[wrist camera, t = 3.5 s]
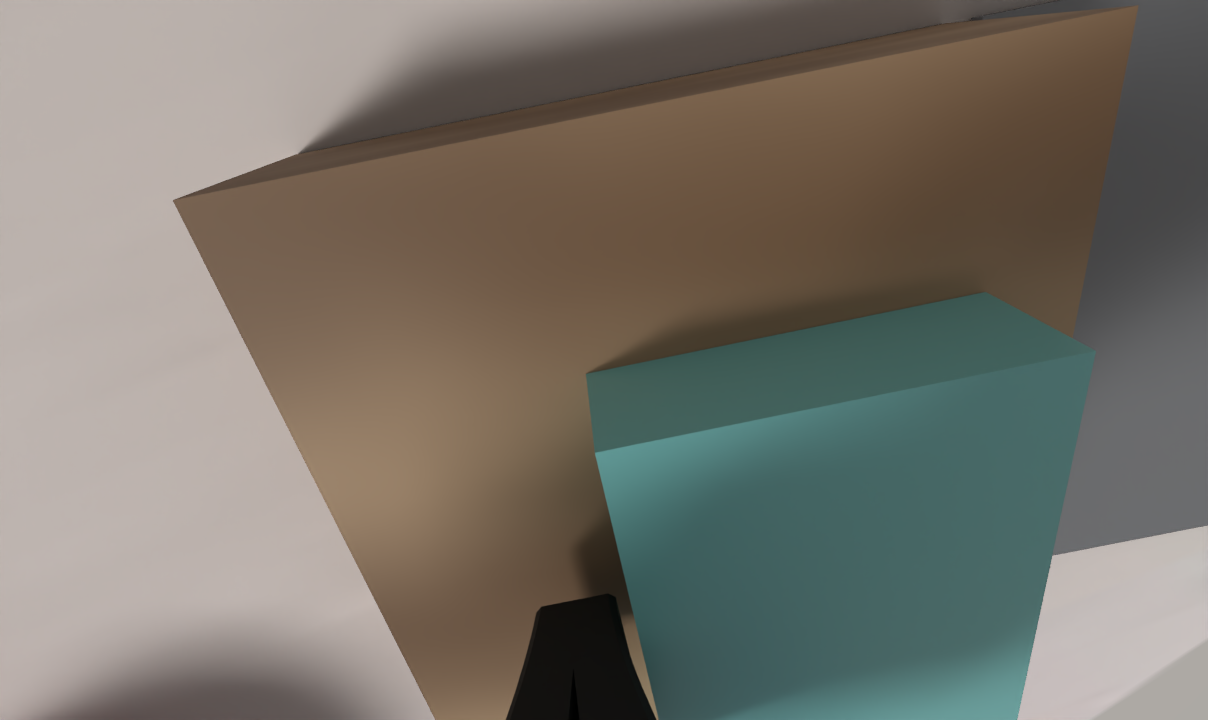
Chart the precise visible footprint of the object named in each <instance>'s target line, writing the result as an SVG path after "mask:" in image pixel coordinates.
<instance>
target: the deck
mask: <svg viewBox="0 0 1208 720" xmlns="http://www.w3.org/2000/svg"><path fill="white" fill-rule="evenodd" d="M1138 6H1139V5H1137V6H1126V7H1115V8H1105V9H1094V10H1083V11H1073V12H1062V13H1051V14H1041V15H1030V16H1019V17H1009V18H998V19H987V20H977V21H966V22H955V23H945V24H940V25H935V26H930V27H925V28H920V29H915V30H910V31H905V32H900V33H895V34H890V35H885V36H880V37H875V38H870V39H865V40H860V41H856V42H851V43H846V44H841V45H836V46H831V47H826V48H821V49H816V50H811V51H806V52H801V53H796V54H791V55H786V56H781V57H776V58H771V59H766V60H762V61H757V62H752V63H747V64H742V65H737V66H732V67H727V68H722V69H717V70H712V71H707V72H702V73H697V74H692V75H687V76H682V77H677V78H672V79H668V80H663V81H658V82H653V83H648V84H643V85H638V86H633V87H628V88H623V89H618V90H613V91H608V92H603V93H598V94H593V95H588V96H583V97H578V98H574V99H569V100H564V101H559V102H554V103H549V104H544V105H539V106H534V107H529V108H524V109H519V110H514V111H509V112H504V113H499V114H494V115H489V116H484V117H480V118H475V119H470V120H465V121H460V122H455V123H450V124H445V125H440V126H435V127H430V128H425V129H420V130H415V131H410V132H405V133H400V134H395V135H390V136H386V137H381V138H376V139H371V140H366V141H361V142H356V143H351V144H346V145H341V146H336V147H331V148H326V149H321V150H316V151H311V152H306V153H301V154H296V155H293V156H291V157H288V158H285V159H283V160H280V161H277V162H275V163H272V164H269V165H267V166H264V167H261V168H258V169H256V170H253V171H250V172H248V173H245V174H242V175H240V176H237V177H234V178H231V179H229V180H226V181H223V182H221V183H218V184H215V185H213V186H210V187H207V188H205V189H202V190H199V191H196V192H194V193H191V194H188V195H186V196H183V197H180V198H178V199H175V200H173V202H174V204H175V206H176V207H177V209H178V211H179V213H180V215H181V217H182V219H183V221H184V223H185V225H186V227H187V229H188V231H189V233H190V235H191V237H192V239H193V241H194V243H195V245H196V247H197V249H198V251H199V253H200V255H201V257H202V259H203V261H204V263H205V265H206V267H207V269H208V271H209V273H210V275H211V277H212V279H213V281H214V283H215V285H216V287H217V289H218V291H219V293H220V295H221V297H222V298H223V300H224V302H225V304H226V306H227V308H228V310H229V312H230V314H231V316H232V318H233V320H234V322H235V324H236V326H237V328H238V330H239V332H240V334H241V336H242V338H243V340H244V342H245V344H246V346H247V348H248V350H249V352H250V354H251V356H252V358H253V360H254V362H255V364H256V366H257V368H258V370H259V372H260V374H261V376H262V378H263V380H264V382H265V384H266V386H267V387H268V389H269V391H270V393H271V395H272V397H273V399H274V401H275V403H276V405H277V407H278V409H279V411H280V413H281V415H282V417H283V419H284V421H285V423H286V425H287V427H288V429H289V431H290V433H291V435H292V437H293V439H294V441H295V443H296V445H297V447H298V449H299V451H300V453H301V455H302V457H303V459H304V461H305V463H306V465H307V467H308V469H309V471H310V473H311V475H312V476H313V478H314V480H315V482H316V484H317V486H318V488H319V490H320V492H321V494H322V496H323V498H324V500H325V502H326V504H327V506H328V508H329V510H330V512H331V514H332V516H333V518H334V520H335V522H336V524H337V526H338V528H339V530H340V532H341V534H342V536H343V538H344V540H345V542H346V544H347V546H348V548H349V550H350V552H351V554H352V556H353V558H354V560H355V562H356V564H357V565H358V567H359V569H360V571H361V573H362V575H363V577H364V579H365V581H366V583H367V585H368V587H369V589H370V591H371V593H372V595H373V597H374V599H375V601H376V603H377V605H378V607H379V609H380V611H381V613H382V615H383V617H384V619H385V621H386V623H387V625H388V627H389V629H390V631H391V633H392V635H393V637H394V639H395V641H396V643H397V645H398V647H399V649H400V651H401V653H402V655H403V656H404V658H405V660H406V662H407V664H408V666H409V668H410V670H411V672H412V674H413V676H414V678H415V680H416V682H417V684H418V686H419V688H420V690H421V692H422V694H423V696H424V698H425V700H426V702H427V704H428V706H429V708H430V710H431V712H432V714H433V716H434V718H435V720H506V717H507V714H508V712H509V709H510V706H511V703H512V700H513V697H514V694H515V691H516V687H517V684H518V681H519V677H520V674H521V671H522V668H523V664H524V661H525V657H526V653H527V650H528V646H529V642H530V638H531V634H532V630H533V626H534V621H535V616H536V612H537V611H538V610H539V609H540V608H541V607H542V606H547V605H552V604H557V603H562V602H567V601H572V600H577V599H582V598H587V597H592V596H597V595H602V594H607V593H608V594H610V595H612V596H614V597H616V600H617V604H618V608H619V612H620V616H621V620H622V624H623V628H624V632H625V636H626V640H627V644H628V648H629V652H630V656H631V659H632V662H633V665H634V667H635V670H636V673H637V675H638V678H639V680H640V683H641V685H642V688H643V690H644V692H645V694H646V697H647V699H648V701H649V704H650V706H651V708H652V710H653V713H654V715H655V717H656V719H657V720H659V719H658V715H657V710H656V706H655V702H654V698H653V694H652V690H651V685H650V681H649V677H648V673H647V669H646V664H645V660H644V656H643V652H642V648H641V644H640V639H639V635H638V631H637V627H636V623H635V619H634V614H633V610H632V606H631V602H630V598H629V593H628V589H627V585H626V581H625V577H624V573H623V568H622V564H621V560H620V556H619V552H618V548H617V543H616V539H615V535H614V531H613V527H612V522H611V518H610V514H609V510H608V506H607V502H606V497H605V493H604V489H603V485H602V481H601V477H600V472H599V468H598V464H597V460H596V456H595V450H594V441H593V432H592V424H591V415H590V406H589V397H588V388H587V380H586V374H588V373H592V372H597V371H602V370H607V369H612V368H617V367H622V366H627V365H631V364H636V363H641V362H646V361H651V360H656V359H661V358H666V357H670V356H675V355H680V354H685V353H690V352H695V351H700V350H705V349H709V348H714V347H719V346H724V345H729V344H734V343H739V342H744V341H748V340H753V339H758V338H763V337H768V336H773V335H778V334H783V333H787V332H792V331H797V330H802V329H807V328H812V327H817V326H822V325H826V324H831V323H836V322H841V321H846V320H851V319H856V318H861V317H866V316H870V315H875V314H880V313H885V312H890V311H895V310H900V309H905V308H909V307H914V306H919V305H924V304H929V303H934V302H939V301H944V300H948V299H953V298H958V297H963V296H968V295H973V294H978V293H983V292H987V293H989V294H991V295H992V296H994V297H996V298H998V299H1000V300H1002V301H1004V302H1006V303H1007V304H1009V305H1011V306H1013V307H1015V308H1017V309H1019V310H1020V311H1022V312H1024V313H1026V314H1028V315H1030V316H1032V317H1034V318H1035V319H1037V320H1039V321H1041V322H1043V323H1045V324H1047V325H1049V326H1050V327H1052V328H1054V329H1056V330H1058V331H1060V332H1062V333H1063V334H1065V335H1067V336H1069V337H1071V338H1073V333H1074V328H1075V323H1076V318H1077V313H1078V308H1079V303H1080V298H1081V293H1082V288H1083V283H1084V278H1085V273H1086V268H1087V263H1088V258H1089V253H1090V248H1091V243H1092V238H1093V233H1094V228H1095V223H1096V218H1097V213H1098V207H1099V202H1100V197H1101V192H1102V187H1103V182H1104V177H1105V172H1106V167H1107V162H1108V157H1109V152H1110V147H1111V142H1112V137H1113V132H1114V127H1115V122H1116V117H1117V112H1118V107H1119V102H1120V97H1121V92H1122V87H1123V82H1124V77H1125V72H1126V66H1127V61H1128V56H1129V51H1130V46H1131V41H1132V36H1133V31H1134V26H1135V21H1136V16H1137V11H1138Z"/></svg>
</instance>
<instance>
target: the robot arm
mask: <svg viewBox="0 0 1208 720" xmlns="http://www.w3.org/2000/svg"><path fill="white" fill-rule="evenodd" d="M506 720H657V719H656V717H655V715H654V713H653V710H652V708H651V706H650V704H649V701H648V699H647V697H646V694H645V692H644V690H643V688H642V685H641V683H640V680H639V678H638V675H637V673H636V670H635V667H634V665H633V662H632V659H631V656H630V652H629V648H628V644H627V640H626V636H625V632H624V628H623V624H622V620H621V616H620V612H619V608H618V604H617V600H616V597H614V596H612V595H610V594H608V593H607V594H602V595H597V596H592V597H587V598H582V599H577V600H572V601H567V602H562V603H557V604H552V605H547V606H542V607H541V608H540V609H539V610H538V611H537V612H536V616H535V621H534V626H533V630H532V634H531V638H530V642H529V646H528V650H527V653H526V657H525V661H524V664H523V668H522V671H521V674H520V677H519V681H518V684H517V687H516V691H515V694H514V697H513V700H512V703H511V706H510V709H509V712H508V714H507V717H506Z"/></svg>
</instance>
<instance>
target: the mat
mask: <svg viewBox="0 0 1208 720" xmlns="http://www.w3.org/2000/svg"><path fill="white" fill-rule="evenodd" d="M1137 5H1139V6H1138V11H1137V16H1136V21H1135V26H1134V31H1133V36H1132V41H1131V46H1130V51H1129V56H1128V61H1127V66H1126V72H1125V77H1124V82H1123V87H1122V92H1121V97H1120V102H1119V107H1118V112H1117V117H1116V122H1115V127H1114V132H1113V137H1112V142H1111V147H1110V152H1109V157H1108V162H1107V167H1106V172H1105V177H1104V182H1103V187H1102V192H1101V197H1100V202H1099V207H1098V213H1097V218H1096V223H1095V228H1094V233H1093V238H1092V243H1091V248H1090V253H1089V258H1088V263H1087V268H1086V273H1085V278H1084V283H1083V288H1082V293H1081V298H1080V303H1079V308H1078V313H1077V318H1076V323H1075V328H1074V333H1073V339H1075V340H1077V341H1078V342H1080V343H1082V344H1084V345H1086V346H1088V347H1090V348H1092V349H1093V350H1095V351H1096V354H1095V358H1094V363H1093V368H1092V372H1091V377H1090V382H1089V386H1088V391H1087V396H1086V400H1085V405H1084V410H1083V414H1082V419H1081V424H1080V428H1079V433H1078V438H1077V442H1076V447H1075V452H1074V456H1073V461H1072V466H1071V470H1070V475H1069V480H1068V484H1067V489H1066V494H1065V498H1064V503H1063V508H1062V512H1061V517H1060V522H1059V526H1058V531H1057V536H1056V540H1055V545H1054V550H1053V554H1052V556H1053V555H1058V554H1063V553H1068V552H1073V551H1078V550H1083V549H1089V548H1094V547H1099V546H1104V545H1109V544H1114V543H1119V542H1125V541H1130V540H1135V539H1140V538H1145V537H1150V536H1155V535H1161V534H1166V533H1171V532H1176V531H1181V530H1186V529H1191V528H1197V527H1202V526H1207V525H1208V0H1058V1H1053V2H1048V3H1044V4H1039V5H1034V6H1029V7H1024V8H1019V9H1014V10H1009V11H1004V12H999V13H994V14H989V15H984V16H979V17H974V18H972V21H977V20H987V19H998V18H1009V17H1019V16H1030V15H1041V14H1051V13H1062V12H1073V11H1083V10H1094V9H1105V8H1115V7H1126V6H1137Z"/></svg>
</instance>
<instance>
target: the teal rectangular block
mask: <svg viewBox="0 0 1208 720" xmlns="http://www.w3.org/2000/svg"><path fill="white" fill-rule="evenodd" d="M1095 354H1096V351H1095V350H1093V349H1092V348H1090V347H1088V346H1086V345H1084V344H1082V343H1080V342H1078V341H1077V340H1075V339H1073V338H1071V337H1069V336H1067V335H1065V334H1063V333H1062V332H1060V331H1058V330H1056V329H1054V328H1052V327H1050V326H1049V325H1047V324H1045V323H1043V322H1041V321H1039V320H1037V319H1035V318H1034V317H1032V316H1030V315H1028V314H1026V313H1024V312H1022V311H1020V310H1019V309H1017V308H1015V307H1013V306H1011V305H1009V304H1007V303H1006V302H1004V301H1002V300H1000V299H998V298H996V297H994V296H992V295H991V294H989V293H987V292H983V293H978V294H973V295H968V296H963V297H958V298H953V299H948V300H944V301H939V302H934V303H929V304H924V305H919V306H914V307H909V308H905V309H900V310H895V311H890V312H885V313H880V314H875V315H870V316H866V317H861V318H856V319H851V320H846V321H841V322H836V323H831V324H826V325H822V326H817V327H812V328H807V329H802V330H797V331H792V332H787V333H783V334H778V335H773V336H768V337H763V338H758V339H753V340H748V341H744V342H739V343H734V344H729V345H724V346H719V347H714V348H709V349H705V350H700V351H695V352H690V353H685V354H680V355H675V356H670V357H666V358H661V359H656V360H651V361H646V362H641V363H636V364H631V365H627V366H622V367H617V368H612V369H607V370H602V371H597V372H592V373H588V374H586V380H587V388H588V397H589V406H590V415H591V424H592V432H593V441H594V450H595V456H596V460H597V464H598V468H599V472H600V477H601V481H602V485H603V489H604V493H605V497H606V502H607V506H608V510H609V514H610V518H611V522H612V527H613V531H614V535H615V539H616V543H617V548H618V552H619V556H620V560H621V564H622V568H623V573H624V577H625V581H626V585H627V589H628V593H629V598H630V602H631V606H632V610H633V614H634V619H635V623H636V627H637V631H638V635H639V639H640V644H641V648H642V652H643V656H644V660H645V664H646V669H647V673H648V677H649V681H650V685H651V690H652V694H653V698H654V702H655V706H656V710H657V715H658V719H659V720H1017V718H1018V713H1019V708H1020V704H1021V699H1022V694H1023V690H1024V685H1025V680H1026V676H1027V671H1028V666H1029V662H1030V657H1031V652H1032V648H1033V643H1034V638H1035V634H1036V629H1037V624H1038V620H1039V615H1040V610H1041V606H1042V601H1043V596H1044V592H1045V587H1046V582H1047V578H1048V573H1049V568H1050V564H1051V559H1052V554H1053V550H1054V545H1055V540H1056V536H1057V531H1058V526H1059V522H1060V517H1061V512H1062V508H1063V503H1064V498H1065V494H1066V489H1067V484H1068V480H1069V475H1070V470H1071V466H1072V461H1073V456H1074V452H1075V447H1076V442H1077V438H1078V433H1079V428H1080V424H1081V419H1082V414H1083V410H1084V405H1085V400H1086V396H1087V391H1088V386H1089V382H1090V377H1091V372H1092V368H1093V363H1094V358H1095Z"/></svg>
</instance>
